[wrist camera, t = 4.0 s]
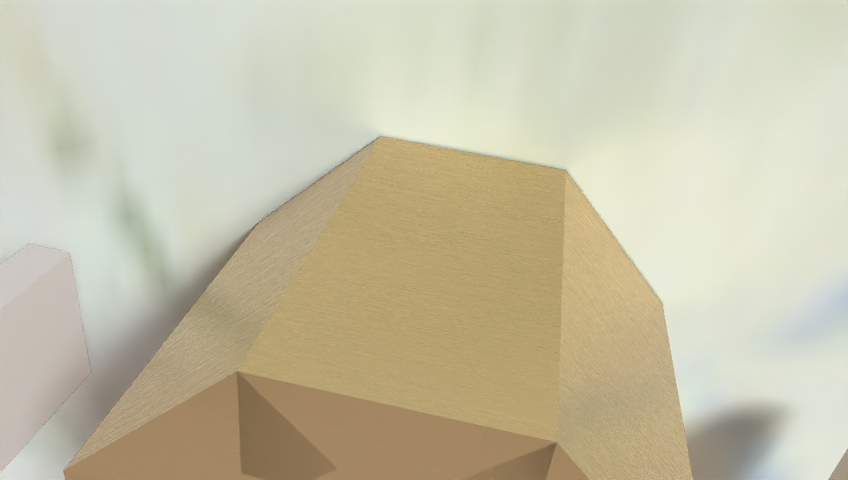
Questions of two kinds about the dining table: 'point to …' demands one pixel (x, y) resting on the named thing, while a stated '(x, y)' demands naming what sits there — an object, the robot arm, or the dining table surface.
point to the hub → (411, 340)
